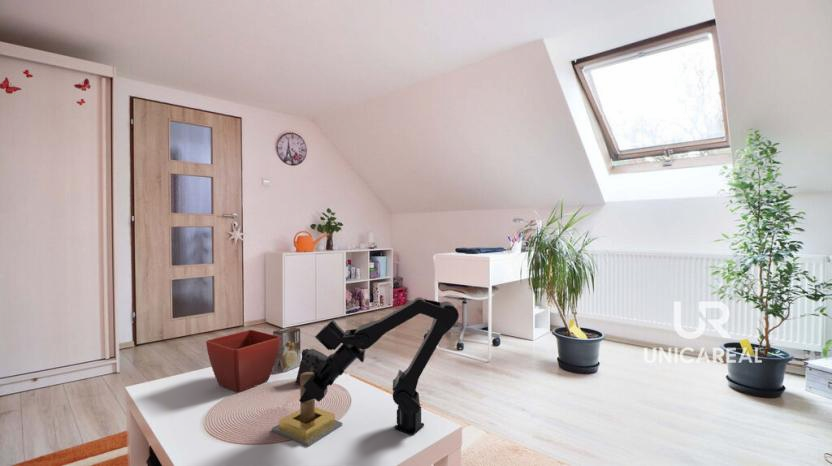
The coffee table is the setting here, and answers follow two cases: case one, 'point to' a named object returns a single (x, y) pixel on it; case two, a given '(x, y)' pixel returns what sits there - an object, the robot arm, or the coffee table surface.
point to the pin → (309, 406)
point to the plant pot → (243, 358)
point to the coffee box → (288, 349)
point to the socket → (307, 427)
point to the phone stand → (304, 367)
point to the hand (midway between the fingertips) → (302, 398)
